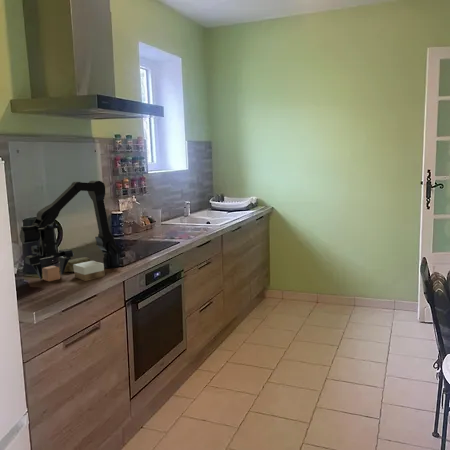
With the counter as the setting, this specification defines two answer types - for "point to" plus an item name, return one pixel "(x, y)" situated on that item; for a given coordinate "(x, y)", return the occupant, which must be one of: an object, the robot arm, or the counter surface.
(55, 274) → the cube
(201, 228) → the counter surface
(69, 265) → the stone block
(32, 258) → the robot arm
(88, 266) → the tower top
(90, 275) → the tower bottom
